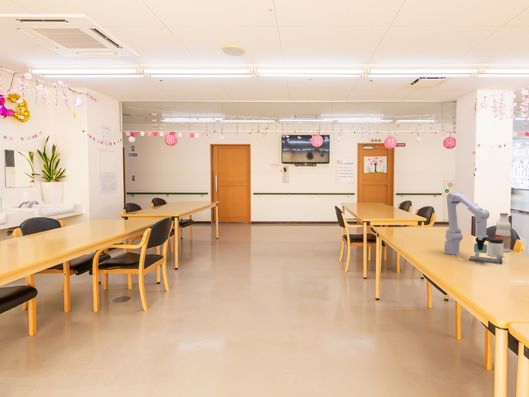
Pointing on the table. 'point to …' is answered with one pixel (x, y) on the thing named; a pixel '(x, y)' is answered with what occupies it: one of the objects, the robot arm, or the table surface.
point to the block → (480, 250)
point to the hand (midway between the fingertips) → (480, 249)
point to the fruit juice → (504, 231)
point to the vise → (488, 259)
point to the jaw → (476, 255)
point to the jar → (495, 247)
